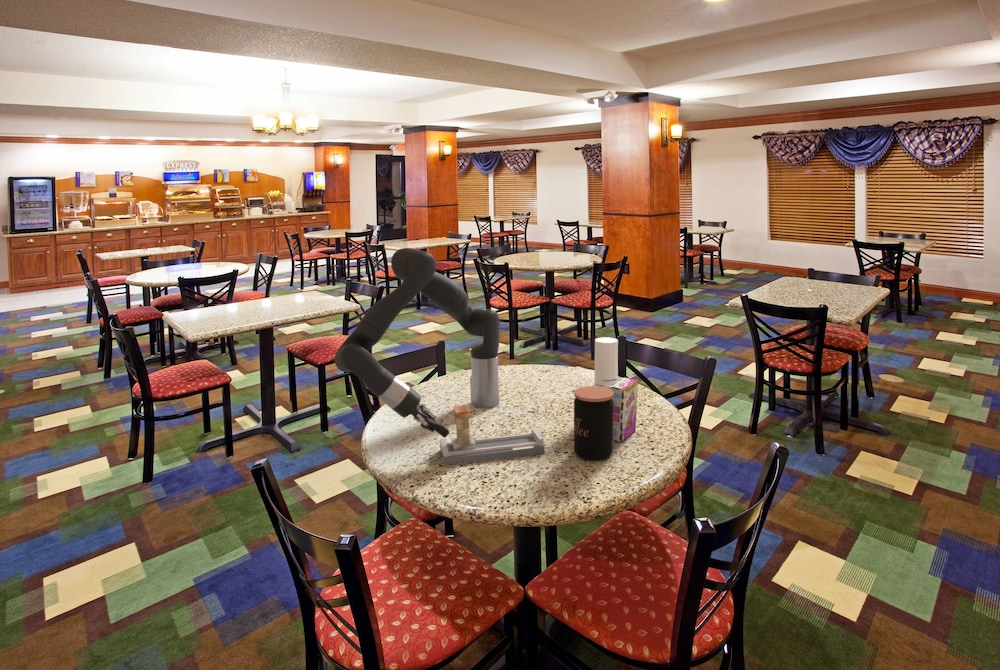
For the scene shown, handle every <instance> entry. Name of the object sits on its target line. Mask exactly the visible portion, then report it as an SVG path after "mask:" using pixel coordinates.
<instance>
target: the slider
mask: <svg viewBox="0 0 1000 670" xmlns="http://www.w3.org/2000/svg"><path fill="white" fill-rule="evenodd" d="M452 409H453V413H454V416H455V423H456V425H455V426H456V438H451V441H450V442H452V448H453V450H454V451H461V450H469V449H476V443H475V441H474V437H473V435H472V436H470V421H469V420H470V417H472V410H471V409H470V407H469V405H468V404H465V405H463V404H462V405H454V406H453V408H452Z"/></svg>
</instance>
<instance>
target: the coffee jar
mask: <svg viewBox="0 0 1000 670" xmlns="http://www.w3.org/2000/svg"><path fill="white" fill-rule="evenodd" d="M573 393H574V397H575V398H574V399H573V400H574V401H573V451H574V453H575V455H576V456H577V457H578V458H579V459H581V460H585V461H590V462H592V461H593V462H599V461H603V460H606V459H608V458H610V456H611V455H612V453H613V451H614V450H613V449H614V447H613V446H614V441H613V410H614V402H613V399H612V398H613V396H614V393H613V391H612V390H610V389H608V388H605V387H598V386H594V385H590V386H589V385H587V386H582V387H577V388H576V389H575V390H574V391H573Z"/></svg>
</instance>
